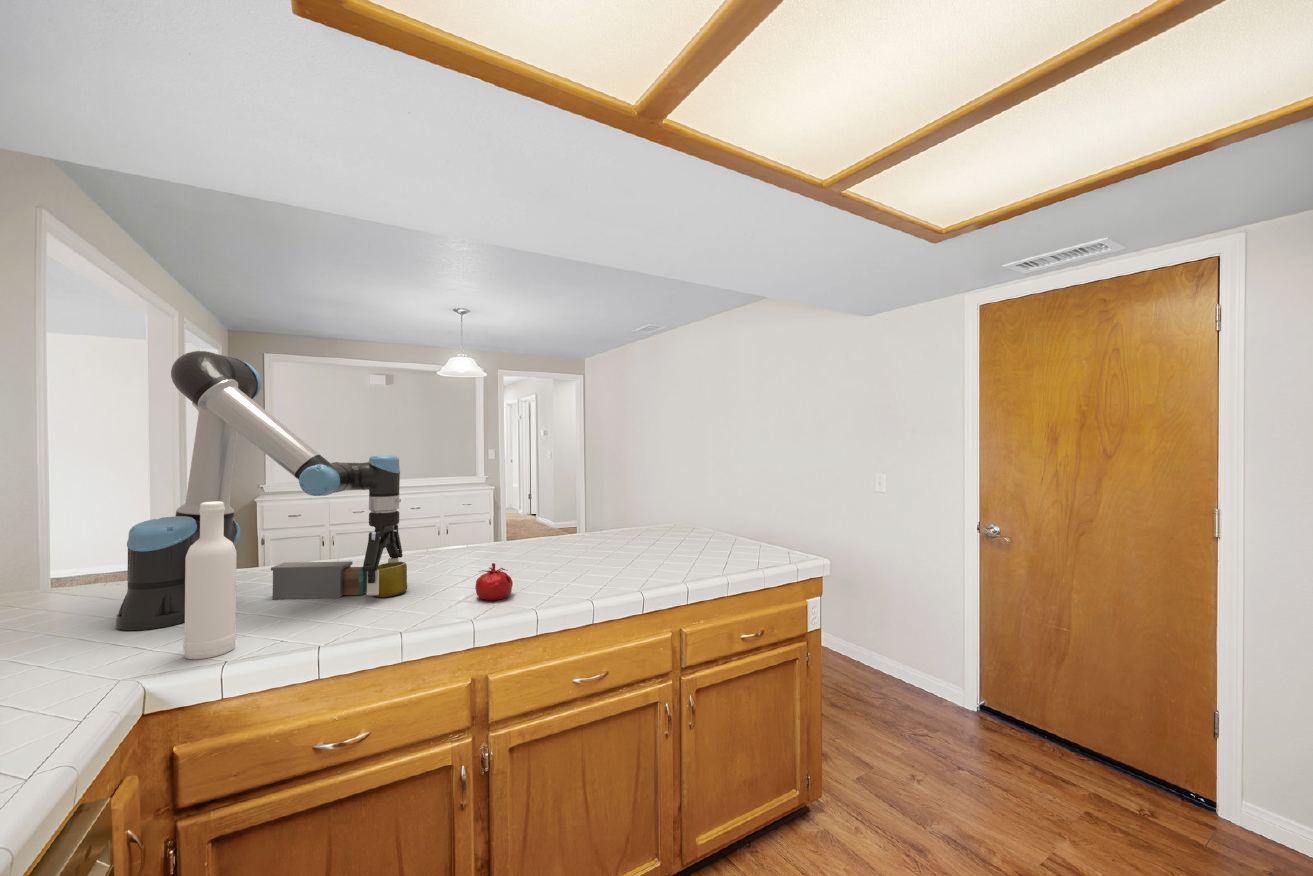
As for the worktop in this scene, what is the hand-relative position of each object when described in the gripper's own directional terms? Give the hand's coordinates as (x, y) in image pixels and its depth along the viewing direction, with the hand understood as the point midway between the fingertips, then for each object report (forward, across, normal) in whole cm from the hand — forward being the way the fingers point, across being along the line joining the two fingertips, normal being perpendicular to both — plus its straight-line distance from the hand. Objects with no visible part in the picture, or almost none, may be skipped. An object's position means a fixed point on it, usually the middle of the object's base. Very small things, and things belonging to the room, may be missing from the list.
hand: (383, 587), depth 144 cm
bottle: (+2, -38, +18) cm, 42 cm away
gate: (+2, 0, +13) cm, 13 cm away
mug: (+2, +1, 0) cm, 2 cm away
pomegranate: (+2, -6, -31) cm, 32 cm away
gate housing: (+2, 0, +18) cm, 18 cm away
